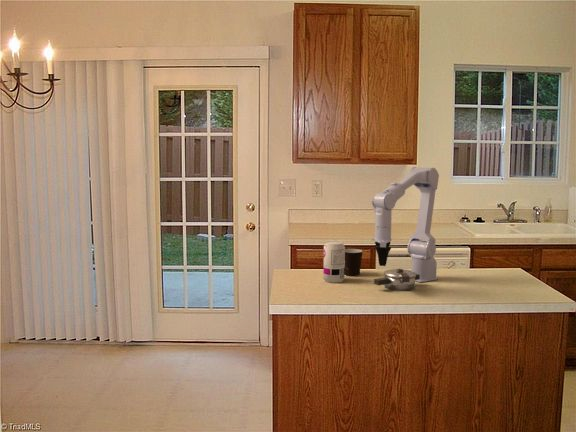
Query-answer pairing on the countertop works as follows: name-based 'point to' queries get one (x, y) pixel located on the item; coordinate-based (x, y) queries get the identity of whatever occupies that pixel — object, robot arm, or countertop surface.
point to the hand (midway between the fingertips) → (382, 263)
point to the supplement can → (334, 262)
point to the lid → (400, 274)
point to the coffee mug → (353, 262)
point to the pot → (397, 283)
